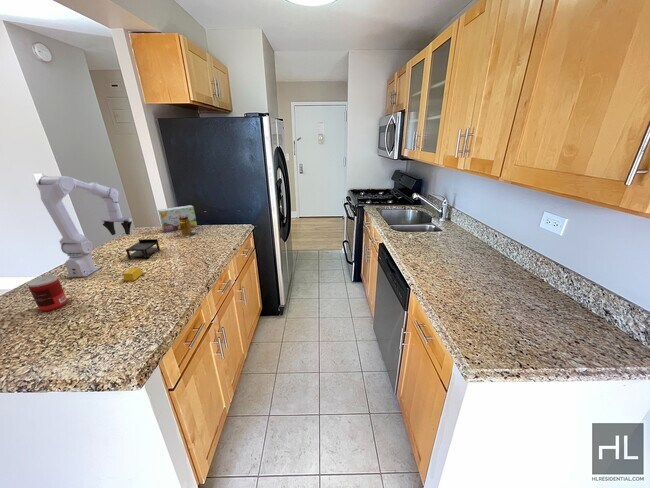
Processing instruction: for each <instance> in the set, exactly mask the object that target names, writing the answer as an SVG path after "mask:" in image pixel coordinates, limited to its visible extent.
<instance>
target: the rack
mask: <svg viewBox="0 0 650 488" xmlns="http://www.w3.org/2000/svg"><path fill="white" fill-rule="evenodd" d="M155 245H156V247H154V246H155ZM125 252H126V255H127V258H128V260H131V259H132V258H146V260H149V259H150V258H149V257H150V256H151V255H152V254H153V253H155V252H161V247H160V245H159V240H158V238H145V239H143V238H140V239H138V241H137V242H136V243H135V244H133V245H131V246H129V247H128V248H125ZM130 252H132V253H131V254H130Z"/></svg>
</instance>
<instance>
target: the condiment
mask: <svg viewBox="0 0 650 488" xmlns="http://www.w3.org/2000/svg"><path fill="white" fill-rule="evenodd" d="M179 221H180V222H179V223H180V228H181V229H180V232H181V234H179V236H180V237H186V238H188V237H190V236H193V235H196V234H197V232H194V231H193V230H192V227H191V225H190V221H189V219H188V217H187V216H184V217H180V218H179Z"/></svg>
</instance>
